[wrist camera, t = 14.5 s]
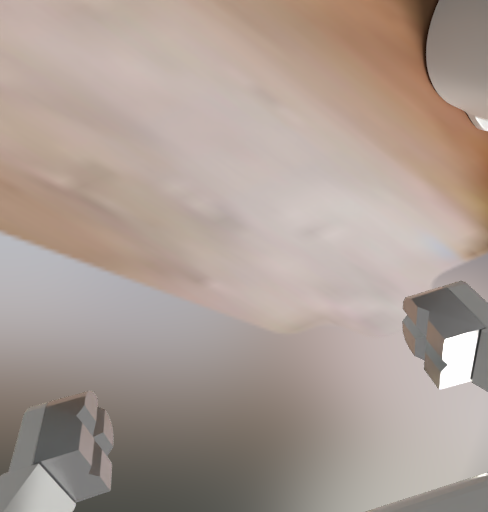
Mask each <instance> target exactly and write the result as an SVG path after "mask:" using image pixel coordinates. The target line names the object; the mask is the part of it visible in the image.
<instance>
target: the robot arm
mask: <svg viewBox="0 0 488 512" xmlns="http://www.w3.org/2000/svg"><path fill="white" fill-rule="evenodd" d="M426 61H427V68H428V73H429V77H430V79H431V82H432V84H433V86H434V88H435V90H436V91H437V93H438V94H439V95H440V96H441V97H442V98H443V99H444V100H445V101H446V102H448V103H449V104H451V105H453V106H455V107H457V108H459V109H461V110H463V111H465V112H466V113H467V114H468V116H469V118H470V119H471V121H472V123H473V124H474V125H475V126H476V127H477V128H478V129H481V130H484V131H488V0H439V2H438V4H437V6H436V9H435V11H434V14H433V17H432V20H431V24H430V27H429V32H428V37H427V46H426ZM403 310H404V311H405V312H406V314H407V316H406V317H405V319H404V320H403V321H402V324H403V334H404V337H405V341H406V343H407V345H408V347H409V349H410V350H411V351H412V353H413V354H414V356H416V357H419V358H421V359H423V360H425V362H424V370H425V371H426V373H427V374H428V375H429V377H430V378H431V379H432V381H433V382H434V383H435V385H436V386H437V388H438V389H443V388H447V387H450V386H454V385H457V384H461V383H464V382H468V381H472V383H474V384H475V385H477V386H479V387H481V388H482V389H484V390H486V391H488V303H487V302H486V301H485V300H484V299H483V298H482V297H481V296H480V295H479V294H478V293H477V292H476V291H475V290H473V289H472V288H471V287H470V286H469V285H468V284H467V283H466V282H463V281H459V282H455V283H452V284H449V285H445V286H443V287H438V288H435V289H432V290H428V291H425V292H422V293H419V294H415V295H412V296H409V297H405V299H404V301H403ZM97 404H98V398H97V397H96V395H95V394H94V393H93V391H87V392H83V393H80V394H76V395H72V396H68V397H65V398H61V399H57V400H54V401H50V402H47V403H43V404H40V405H36V406H32V407H29V408H28V409H27V411H26V412H25V413H24V416H23V419H22V423H21V427H20V431H19V435H18V439H17V442H16V446H15V450H14V454H13V457H12V461H11V465H10V468H9V472H8V473H5V474H2V475H1V476H0V512H72V511H73V510H74V508H75V506H76V504H75V503H76V502H79V501H81V500H84V499H87V498H90V497H93V496H96V495H99V494H102V493H105V492H108V491H110V490H111V475H112V463H111V462H110V460H109V459H108V457H107V455H108V454H109V452H110V451H111V449H112V448H113V437H114V436H113V429H112V423H111V420H110V418H109V416H108V414H107V412H106V411H105V410H104V409H102V408H99V407H97ZM366 512H488V472H487V473H484V474H481V475H478V476H475V477H472V478H468V479H465V480H462V481H459V482H456V483H453V484H450V485H447V486H444V487H440V488H437V489H435V490H431V491H428V492H425V493H422V494H419V495H415V496H412V497H409V498H406V499H403V500H400V501H397V502H394V503H391V504H387V505H384V506H381V507H378V508H375V509H372V510H369V511H366Z"/></svg>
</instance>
